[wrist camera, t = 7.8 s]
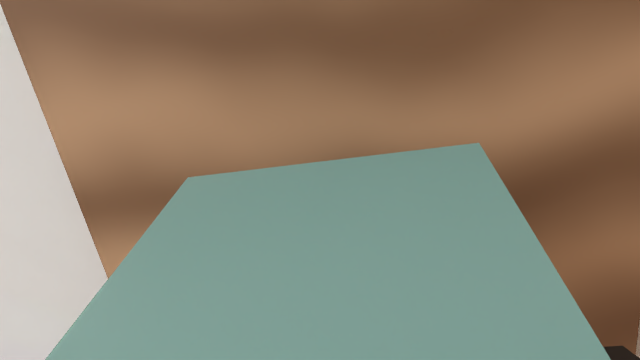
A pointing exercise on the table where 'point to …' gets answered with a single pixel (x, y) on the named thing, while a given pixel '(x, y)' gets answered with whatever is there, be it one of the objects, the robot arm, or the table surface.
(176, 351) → the teal rectangular block
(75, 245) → the table surface
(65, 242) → the table surface
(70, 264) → the table surface
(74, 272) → the table surface
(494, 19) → the wooden peg board
